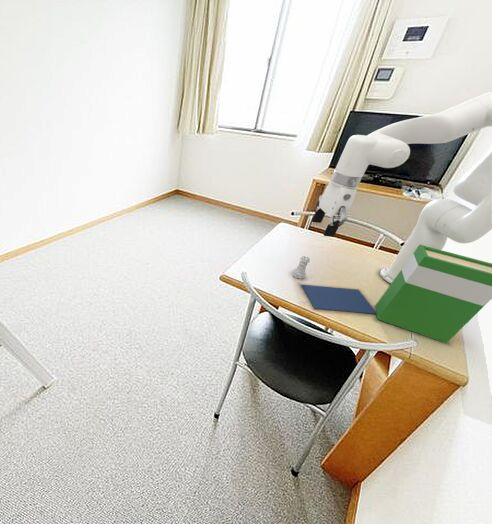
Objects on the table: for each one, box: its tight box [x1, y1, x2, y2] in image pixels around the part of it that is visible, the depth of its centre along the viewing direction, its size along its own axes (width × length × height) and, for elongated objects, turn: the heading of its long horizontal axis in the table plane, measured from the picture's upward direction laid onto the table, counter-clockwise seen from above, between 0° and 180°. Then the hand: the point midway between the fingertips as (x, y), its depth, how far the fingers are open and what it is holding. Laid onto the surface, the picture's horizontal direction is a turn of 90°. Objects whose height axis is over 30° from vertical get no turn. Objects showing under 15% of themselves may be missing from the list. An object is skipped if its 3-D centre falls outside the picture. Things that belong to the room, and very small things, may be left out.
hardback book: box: [374, 245, 492, 344], centre depth 87 cm, size 18×7×24 cm, turn 61°
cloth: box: [300, 284, 377, 315], centre depth 102 cm, size 20×12×1 cm, turn 86°
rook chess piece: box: [291, 255, 311, 280], centre depth 110 cm, size 4×4×8 cm
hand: (322, 228), depth 101 cm, fingers open, 9 cm apart
